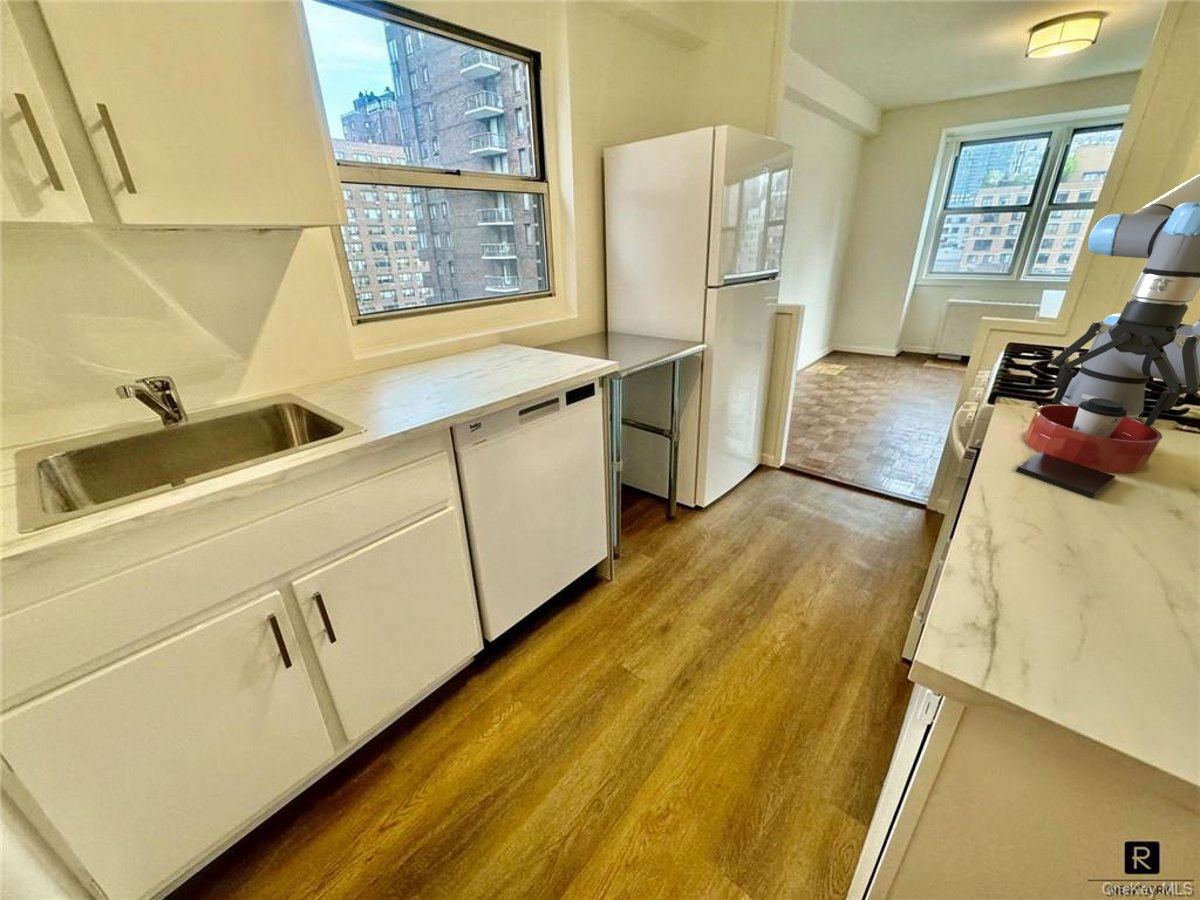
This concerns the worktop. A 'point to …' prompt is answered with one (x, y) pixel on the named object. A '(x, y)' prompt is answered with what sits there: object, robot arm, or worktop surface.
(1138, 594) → the worktop surface
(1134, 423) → the bowl
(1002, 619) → the worktop surface
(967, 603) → the worktop surface
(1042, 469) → the plate
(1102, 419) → the coffee cup
